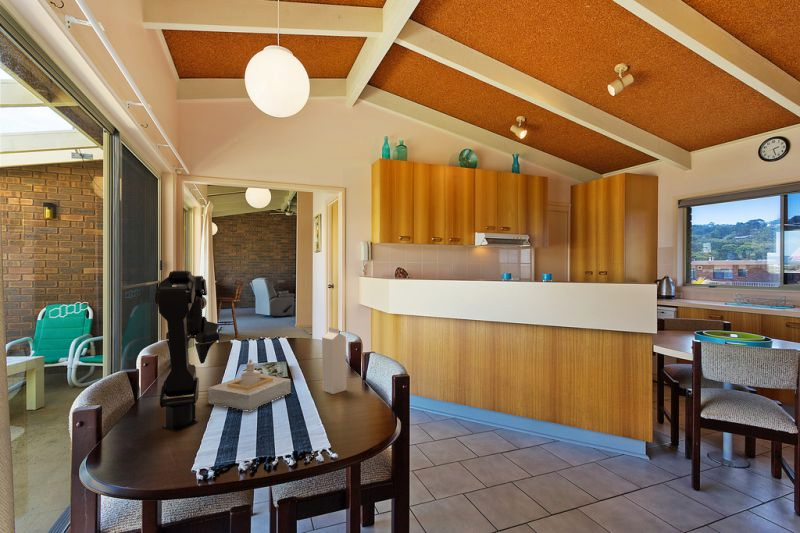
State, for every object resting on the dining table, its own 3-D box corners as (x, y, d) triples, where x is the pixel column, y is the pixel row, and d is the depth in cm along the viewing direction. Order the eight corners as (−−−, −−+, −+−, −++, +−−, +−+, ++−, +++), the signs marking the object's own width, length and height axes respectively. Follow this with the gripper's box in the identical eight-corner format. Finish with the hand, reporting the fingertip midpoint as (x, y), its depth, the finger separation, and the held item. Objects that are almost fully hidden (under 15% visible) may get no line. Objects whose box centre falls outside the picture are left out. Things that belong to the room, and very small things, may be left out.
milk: (332, 394, 128) (332, 330, 128) (322, 390, 132) (321, 328, 132) (346, 390, 133) (346, 327, 133) (336, 386, 137) (335, 326, 137)
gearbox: (249, 412, 113) (249, 392, 113) (208, 403, 121) (208, 385, 121) (300, 389, 134) (299, 373, 134) (262, 383, 142) (262, 367, 142)
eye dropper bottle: (252, 398, 122) (251, 361, 122) (239, 396, 124) (239, 360, 124) (262, 394, 126) (261, 358, 126) (249, 392, 128) (249, 357, 128)
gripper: (233, 312, 126) (233, 359, 126) (195, 310, 134) (196, 354, 134) (203, 316, 116) (203, 367, 116) (164, 314, 124) (165, 361, 124)
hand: (192, 361), depth 122 cm, fingers open, 9 cm apart
